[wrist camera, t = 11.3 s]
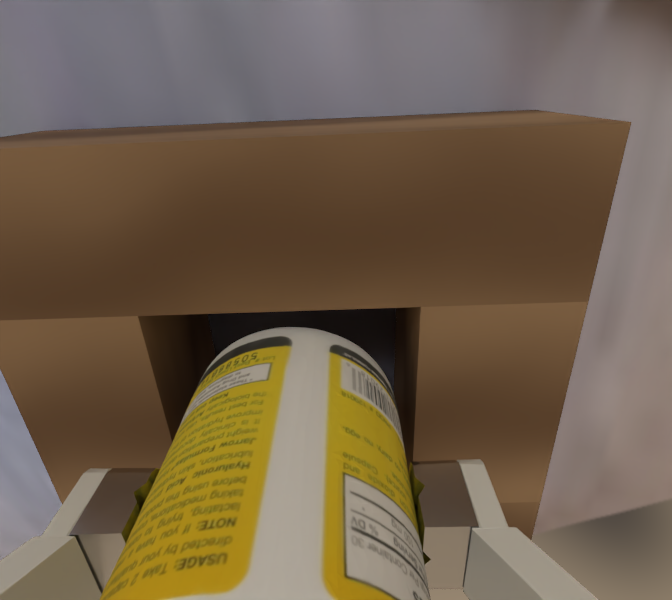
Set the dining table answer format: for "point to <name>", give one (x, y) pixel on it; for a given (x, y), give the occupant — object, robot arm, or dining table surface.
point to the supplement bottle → (281, 483)
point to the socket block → (305, 272)
